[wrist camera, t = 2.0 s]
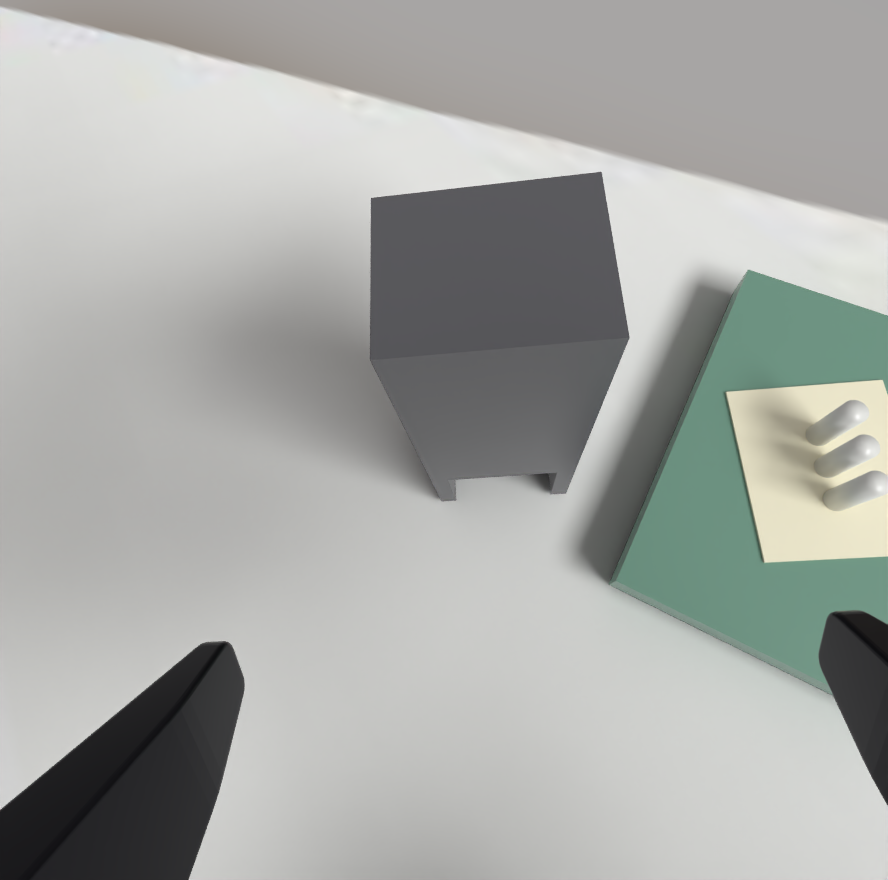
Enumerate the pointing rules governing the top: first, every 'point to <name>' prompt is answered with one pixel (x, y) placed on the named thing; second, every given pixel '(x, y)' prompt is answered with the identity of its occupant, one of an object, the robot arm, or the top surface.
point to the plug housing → (497, 324)
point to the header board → (773, 480)
